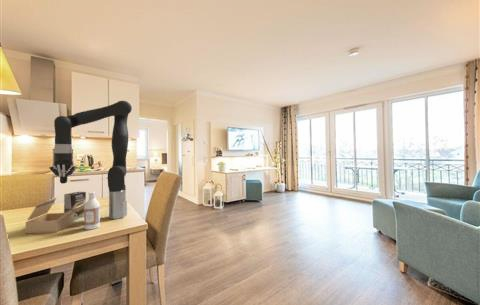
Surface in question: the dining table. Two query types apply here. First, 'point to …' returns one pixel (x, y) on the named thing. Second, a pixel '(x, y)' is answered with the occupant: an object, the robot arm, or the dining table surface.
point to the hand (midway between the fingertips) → (63, 183)
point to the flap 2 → (73, 210)
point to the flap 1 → (41, 208)
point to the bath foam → (92, 212)
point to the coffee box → (75, 203)
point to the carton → (49, 223)
